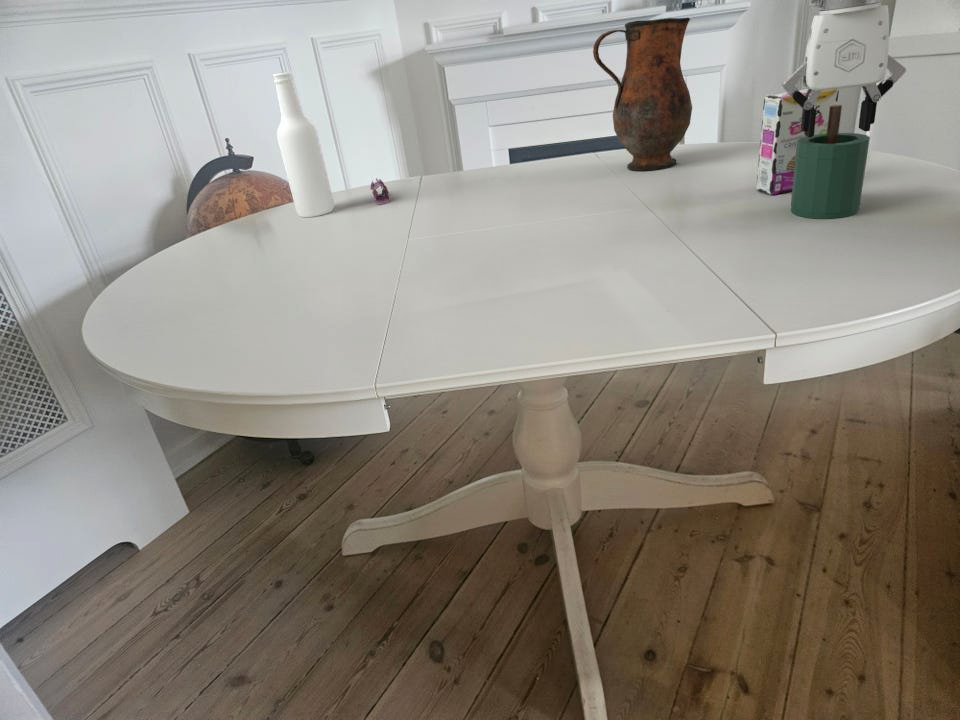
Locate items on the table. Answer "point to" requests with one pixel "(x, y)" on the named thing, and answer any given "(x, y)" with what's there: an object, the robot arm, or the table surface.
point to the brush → (833, 124)
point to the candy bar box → (786, 137)
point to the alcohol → (301, 153)
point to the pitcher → (651, 92)
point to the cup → (829, 176)
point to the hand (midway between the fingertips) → (836, 131)
